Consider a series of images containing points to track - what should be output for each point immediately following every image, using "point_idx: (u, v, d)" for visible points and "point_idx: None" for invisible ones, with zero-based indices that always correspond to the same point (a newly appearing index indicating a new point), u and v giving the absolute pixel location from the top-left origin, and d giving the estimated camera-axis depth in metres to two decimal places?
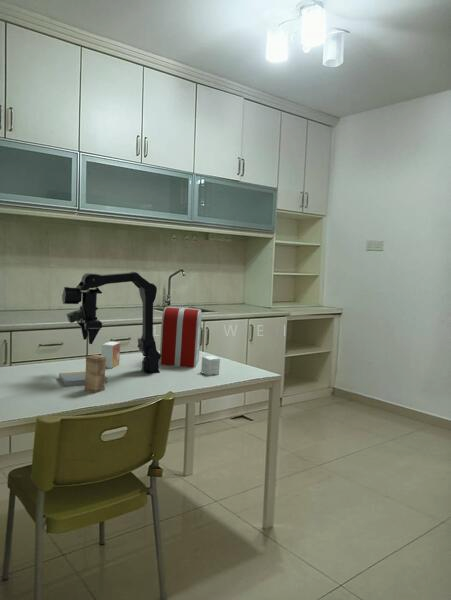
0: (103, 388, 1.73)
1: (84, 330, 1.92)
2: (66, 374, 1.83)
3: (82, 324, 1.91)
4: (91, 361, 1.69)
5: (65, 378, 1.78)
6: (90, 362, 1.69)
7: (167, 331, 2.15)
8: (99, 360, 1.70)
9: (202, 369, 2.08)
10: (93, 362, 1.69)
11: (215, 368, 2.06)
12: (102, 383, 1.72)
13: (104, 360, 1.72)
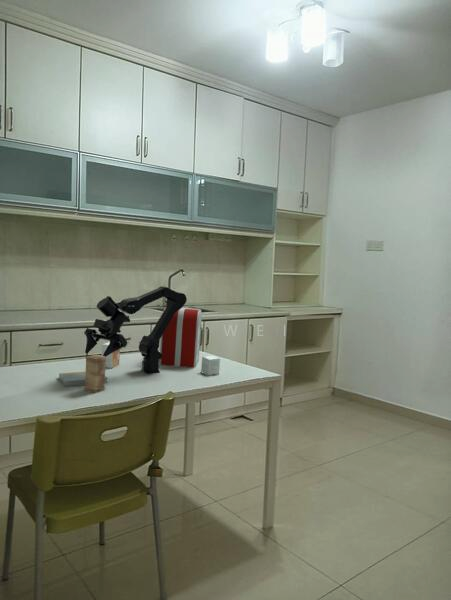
0: (103, 388, 1.73)
1: (90, 344, 1.84)
2: (66, 374, 1.83)
3: (92, 338, 1.85)
4: (91, 361, 1.69)
5: (65, 378, 1.78)
6: (90, 362, 1.69)
7: (167, 331, 2.15)
8: (99, 360, 1.70)
9: (202, 369, 2.08)
10: (93, 361, 1.69)
11: (215, 368, 2.06)
12: (102, 383, 1.72)
13: (104, 360, 1.72)
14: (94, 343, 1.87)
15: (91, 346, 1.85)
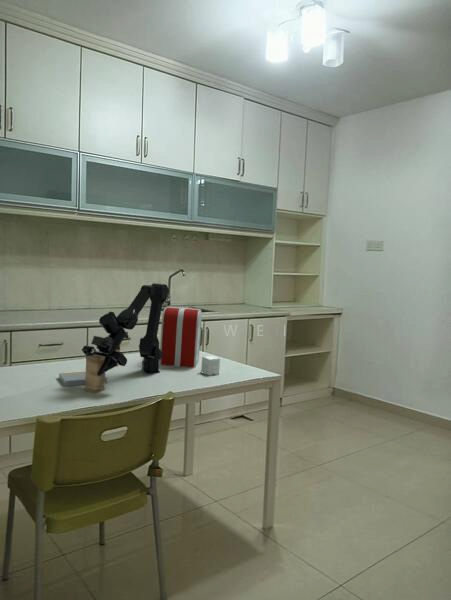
0: (103, 388, 1.73)
1: None
2: (66, 374, 1.83)
3: None
4: (91, 361, 1.69)
5: (65, 378, 1.78)
6: (90, 362, 1.69)
7: (167, 331, 2.15)
8: (99, 360, 1.69)
9: (202, 369, 2.08)
10: (94, 361, 1.68)
11: (215, 368, 2.06)
12: (102, 383, 1.72)
13: None
14: None
15: None
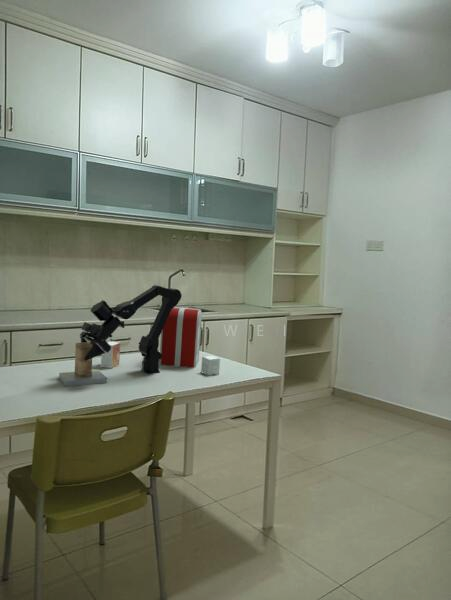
0: (90, 374, 1.83)
1: None
2: (66, 374, 1.83)
3: (84, 341, 1.88)
4: (78, 348, 1.81)
5: (65, 378, 1.78)
6: (77, 348, 1.81)
7: (167, 331, 2.15)
8: (84, 347, 1.80)
9: (202, 369, 2.08)
10: (79, 348, 1.80)
11: (215, 368, 2.06)
12: (89, 369, 1.83)
13: (91, 347, 1.82)
14: None
15: None
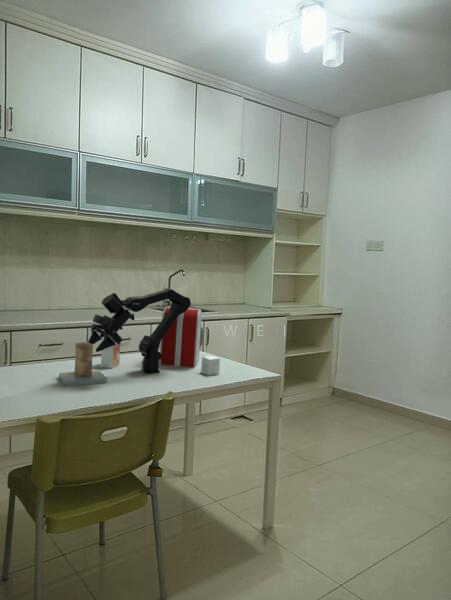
0: (90, 374, 1.83)
1: (92, 339, 1.90)
2: (66, 374, 1.83)
3: (95, 333, 1.90)
4: (78, 348, 1.81)
5: (65, 378, 1.78)
6: (77, 348, 1.81)
7: (167, 331, 2.15)
8: (84, 347, 1.80)
9: (202, 369, 2.08)
10: (79, 348, 1.80)
11: (215, 368, 2.06)
12: (89, 369, 1.83)
13: (91, 347, 1.82)
14: (98, 338, 1.91)
15: (94, 341, 1.90)
